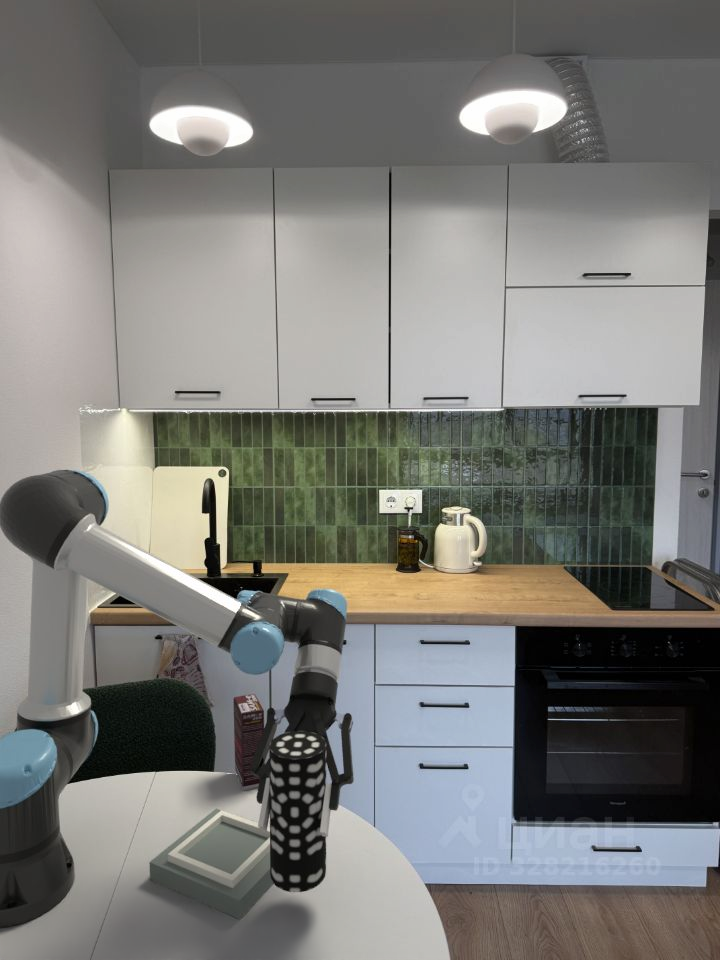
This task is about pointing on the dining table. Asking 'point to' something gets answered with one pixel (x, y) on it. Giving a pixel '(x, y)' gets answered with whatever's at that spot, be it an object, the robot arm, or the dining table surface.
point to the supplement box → (247, 737)
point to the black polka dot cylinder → (297, 810)
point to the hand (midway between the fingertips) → (292, 831)
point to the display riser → (218, 863)
